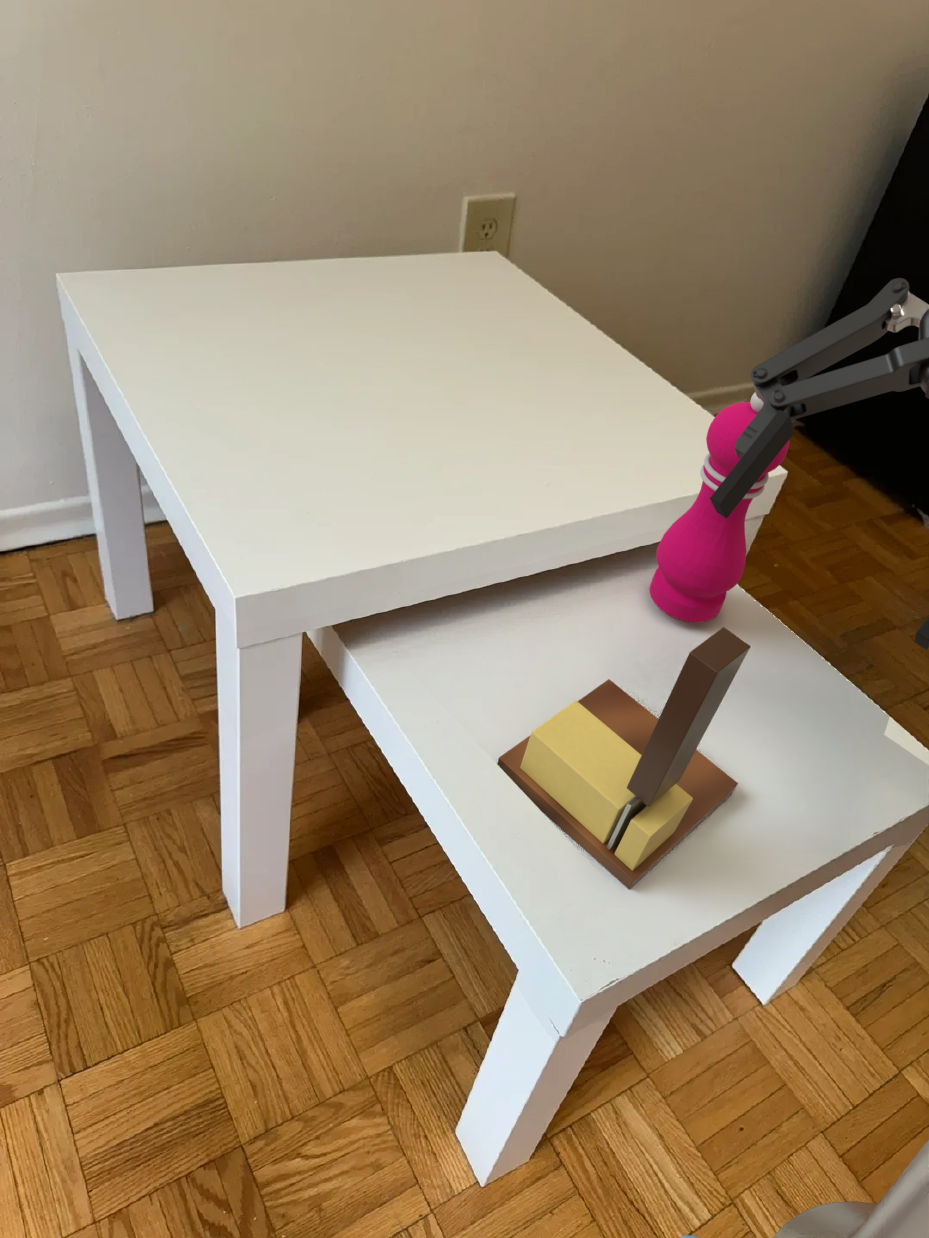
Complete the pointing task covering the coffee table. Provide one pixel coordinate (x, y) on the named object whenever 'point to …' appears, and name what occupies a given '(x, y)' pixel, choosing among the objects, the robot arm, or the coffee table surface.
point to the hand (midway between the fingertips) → (813, 572)
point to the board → (636, 729)
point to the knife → (683, 722)
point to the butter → (599, 781)
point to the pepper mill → (709, 529)
